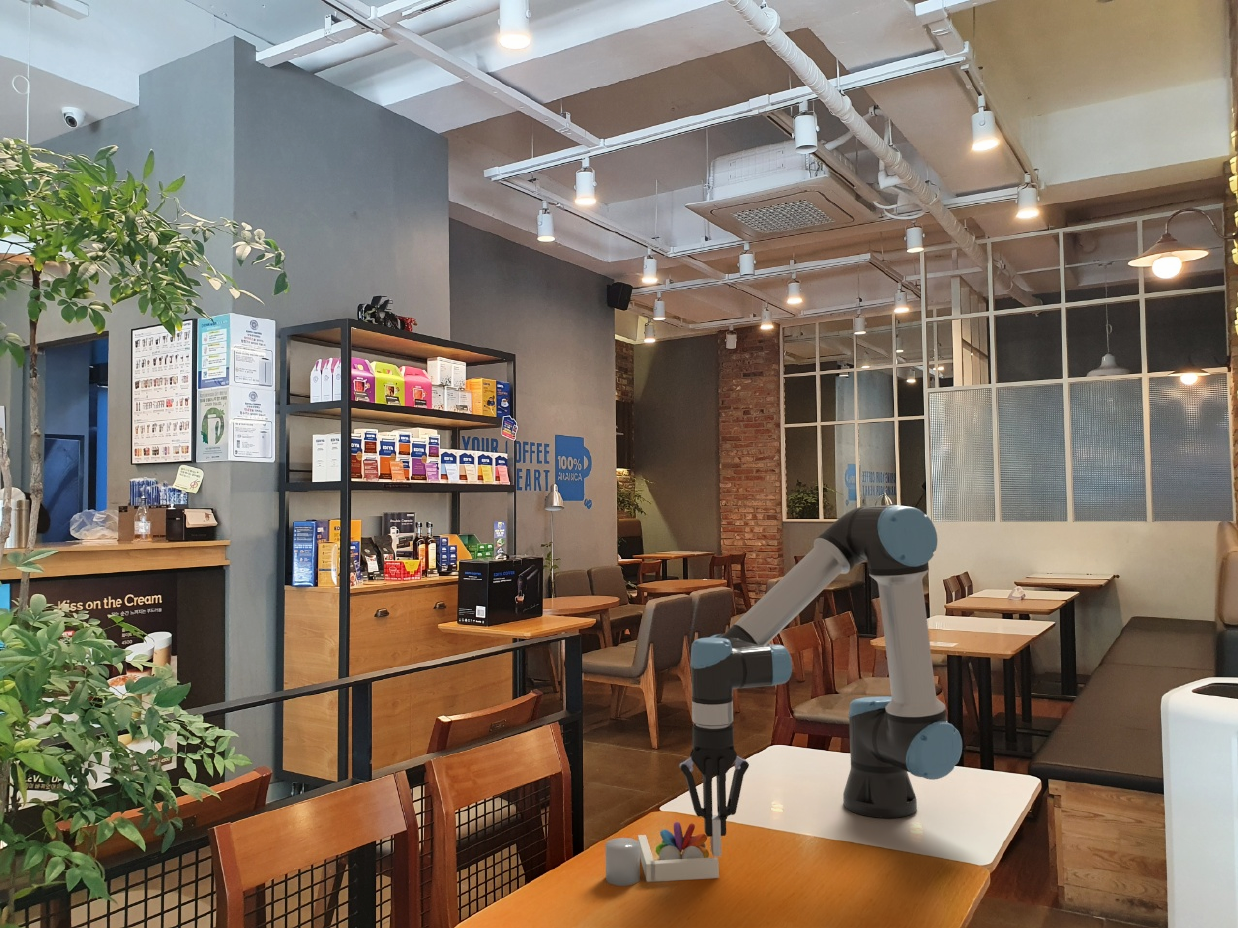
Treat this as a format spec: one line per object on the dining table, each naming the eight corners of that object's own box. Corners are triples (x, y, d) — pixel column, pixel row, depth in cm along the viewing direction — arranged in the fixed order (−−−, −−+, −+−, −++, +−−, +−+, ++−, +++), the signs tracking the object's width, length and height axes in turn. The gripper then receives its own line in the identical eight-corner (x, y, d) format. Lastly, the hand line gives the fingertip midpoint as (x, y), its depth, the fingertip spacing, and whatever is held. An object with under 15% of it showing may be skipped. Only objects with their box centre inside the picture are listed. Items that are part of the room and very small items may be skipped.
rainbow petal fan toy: (708, 873, 163) (707, 831, 163) (653, 871, 164) (653, 830, 164) (709, 854, 171) (709, 815, 171) (658, 853, 172) (657, 813, 173)
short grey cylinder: (638, 870, 164) (637, 836, 165) (641, 884, 158) (641, 849, 159) (604, 872, 164) (604, 838, 164) (607, 886, 158) (606, 851, 158)
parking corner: (704, 847, 175) (704, 831, 175) (718, 877, 161) (718, 860, 161) (638, 851, 174) (637, 835, 174) (646, 881, 160) (646, 864, 160)
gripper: (743, 717, 173) (746, 843, 172) (674, 720, 172) (677, 847, 171) (752, 726, 166) (755, 859, 165) (680, 729, 164) (684, 863, 163)
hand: (715, 853), depth 168 cm, fingers closed
